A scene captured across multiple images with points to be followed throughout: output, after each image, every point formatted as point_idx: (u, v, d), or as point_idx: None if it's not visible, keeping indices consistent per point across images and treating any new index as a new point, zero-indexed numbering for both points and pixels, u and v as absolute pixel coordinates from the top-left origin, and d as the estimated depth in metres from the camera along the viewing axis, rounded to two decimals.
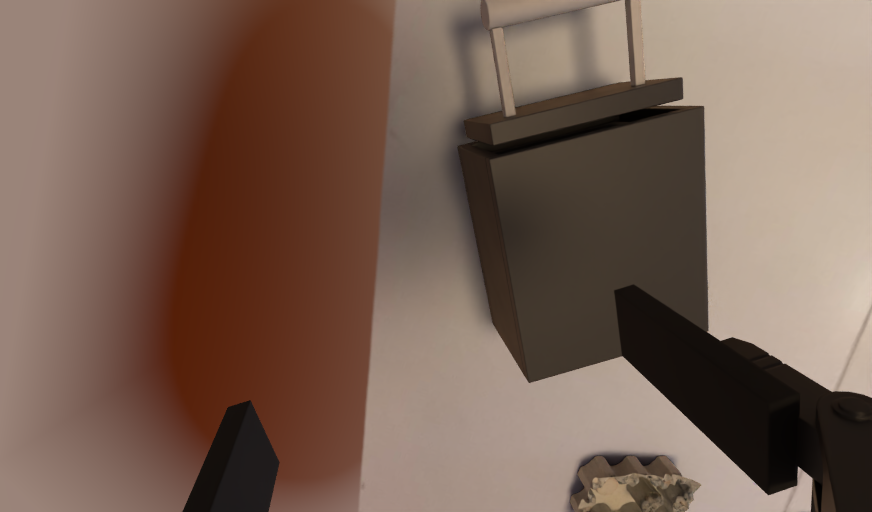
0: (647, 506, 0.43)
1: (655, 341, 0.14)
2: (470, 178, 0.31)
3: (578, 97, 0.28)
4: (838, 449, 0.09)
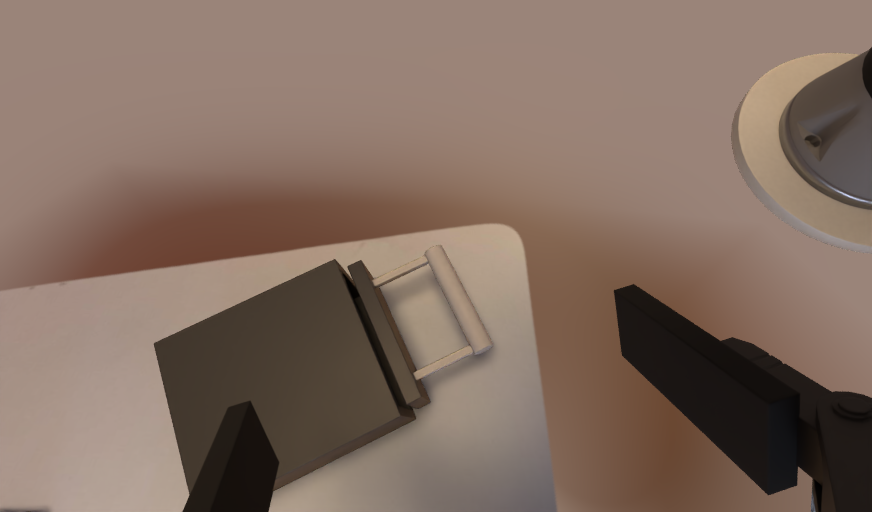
0: None
1: (655, 341, 0.14)
2: None
3: (400, 341, 0.37)
4: (838, 449, 0.09)
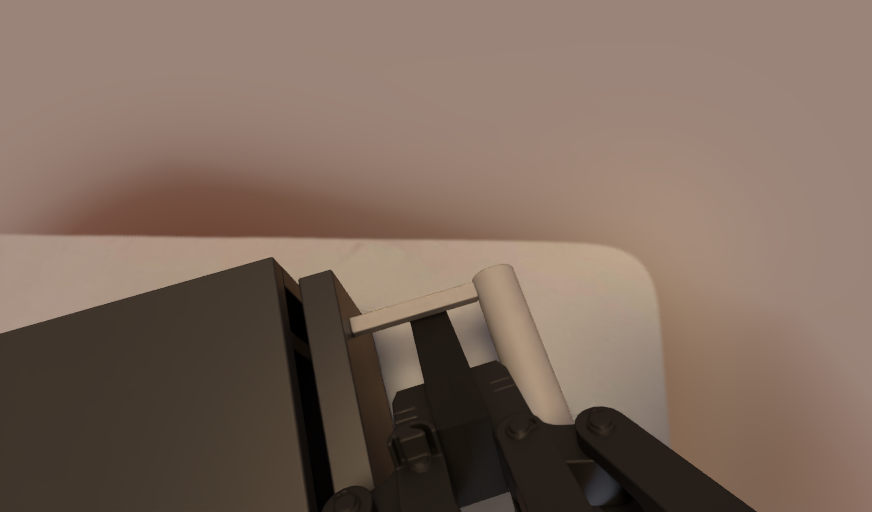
0: None
1: None
2: None
3: (388, 469, 0.16)
4: (521, 471, 0.10)
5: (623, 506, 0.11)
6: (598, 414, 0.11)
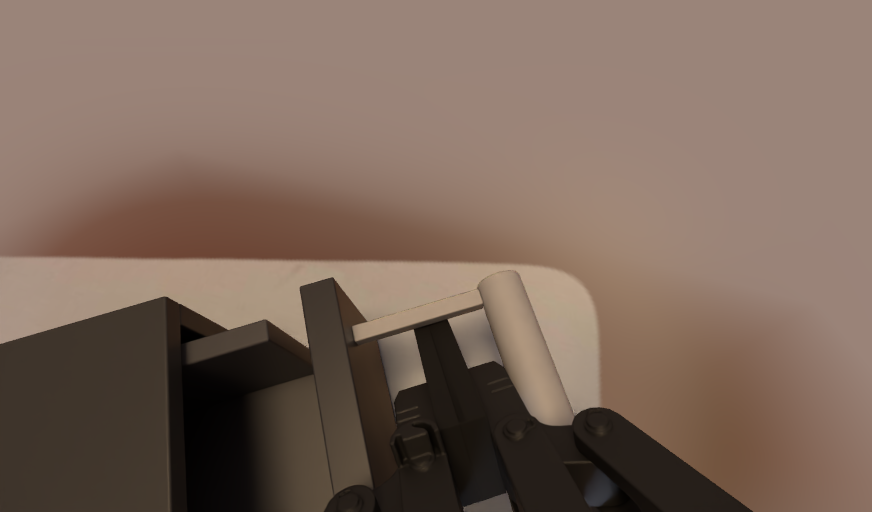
0: None
1: None
2: None
3: None
4: (518, 472, 0.10)
5: (620, 507, 0.11)
6: (595, 414, 0.11)
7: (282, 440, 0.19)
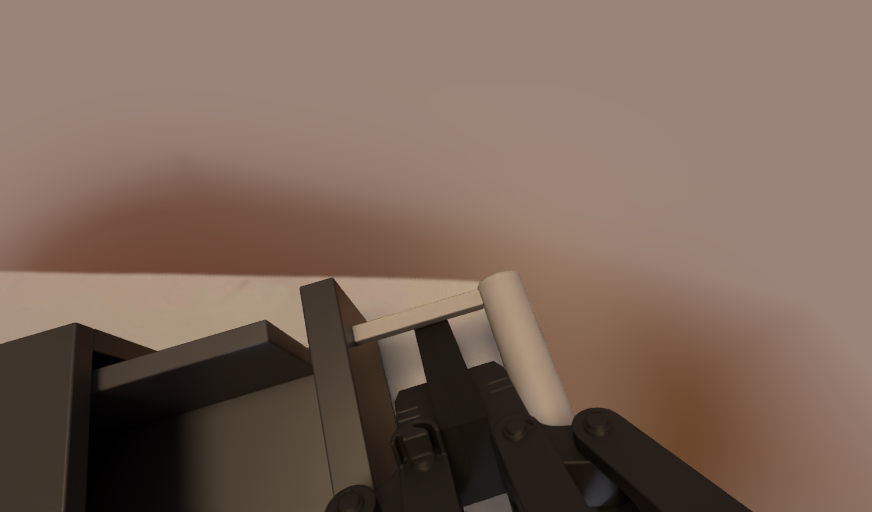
0: None
1: None
2: None
3: None
4: (518, 472, 0.10)
5: (620, 507, 0.11)
6: (595, 414, 0.11)
7: (282, 440, 0.19)
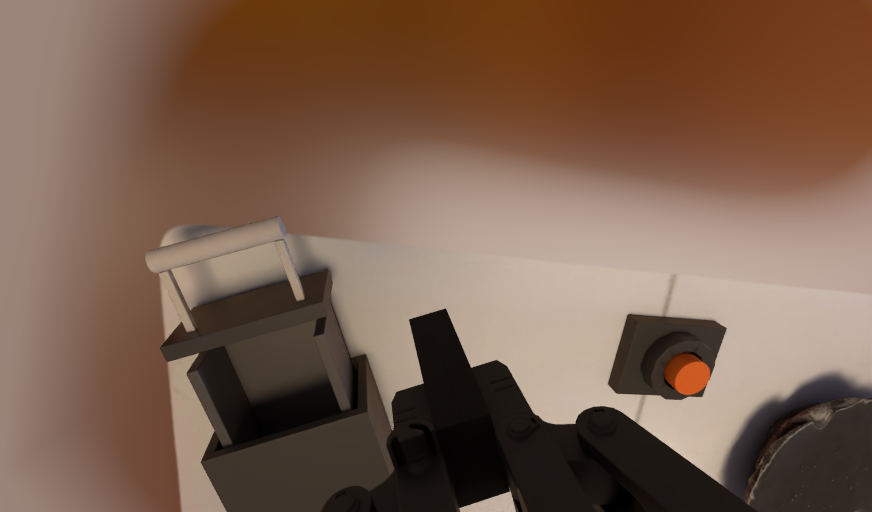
0: None
1: None
2: None
3: (262, 304, 0.35)
4: (521, 470, 0.10)
5: (624, 506, 0.11)
6: (599, 413, 0.11)
7: (255, 347, 0.39)
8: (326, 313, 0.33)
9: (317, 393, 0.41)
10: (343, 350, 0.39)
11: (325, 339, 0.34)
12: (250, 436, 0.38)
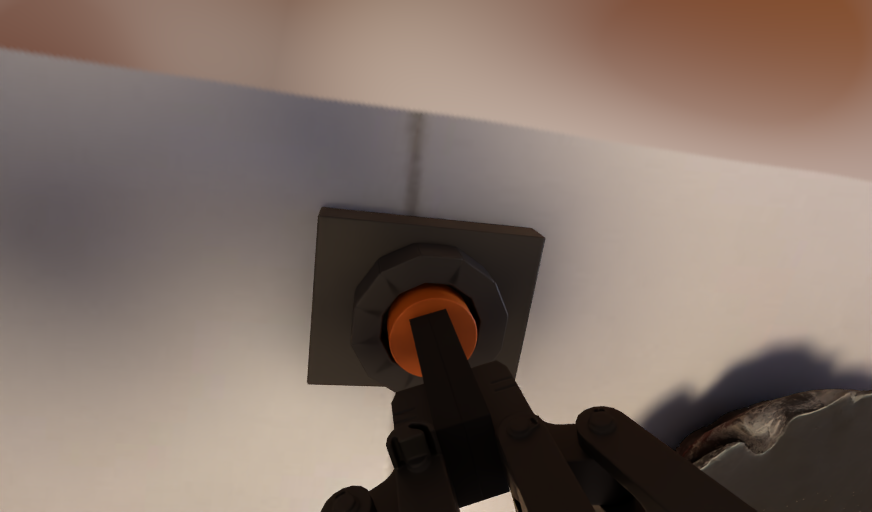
0: None
1: None
2: None
3: None
4: (521, 470, 0.10)
5: (624, 506, 0.11)
6: (599, 413, 0.11)
7: None
8: None
9: None
10: None
11: None
12: None
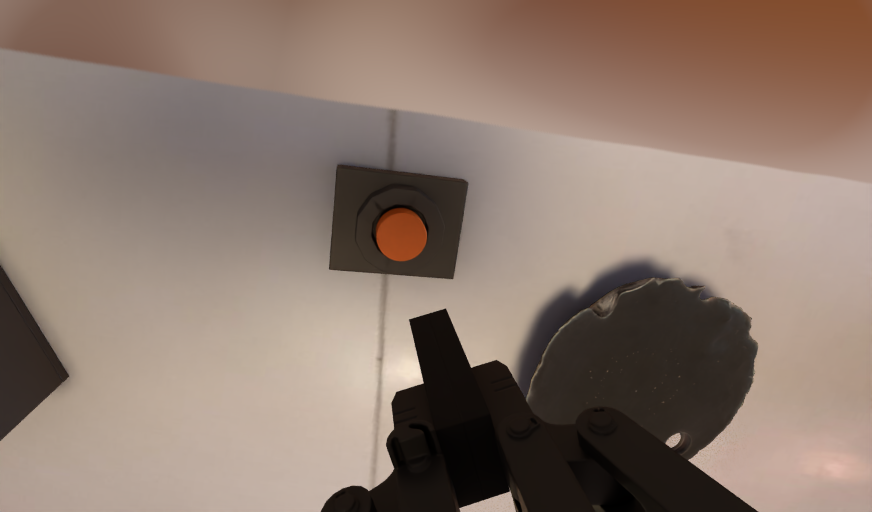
0: None
1: None
2: None
3: None
4: (521, 470, 0.10)
5: (624, 506, 0.11)
6: (599, 413, 0.11)
7: None
8: None
9: None
10: None
11: None
12: None
